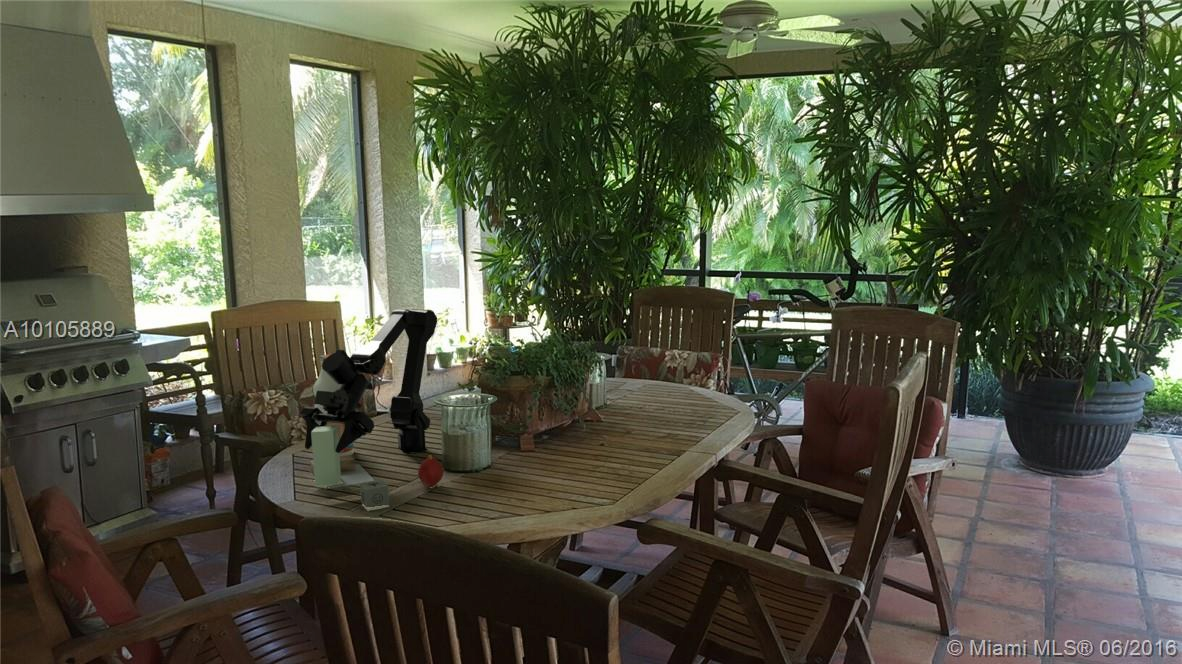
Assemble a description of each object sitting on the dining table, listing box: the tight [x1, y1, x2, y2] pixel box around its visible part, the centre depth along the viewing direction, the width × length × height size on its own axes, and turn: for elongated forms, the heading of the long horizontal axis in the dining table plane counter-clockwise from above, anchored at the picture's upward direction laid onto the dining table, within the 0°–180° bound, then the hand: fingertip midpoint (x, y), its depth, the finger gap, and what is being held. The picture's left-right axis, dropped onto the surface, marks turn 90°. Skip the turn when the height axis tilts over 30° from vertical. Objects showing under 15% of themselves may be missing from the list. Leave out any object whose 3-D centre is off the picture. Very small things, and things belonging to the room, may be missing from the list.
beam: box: [309, 454, 356, 476], centre depth 206 cm, size 10×4×3 cm, turn 119°
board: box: [314, 463, 376, 490], centre depth 202 cm, size 14×16×1 cm
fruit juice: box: [312, 353, 355, 457], centre depth 220 cm, size 9×9×28 cm
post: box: [311, 426, 341, 485], centre depth 197 cm, size 5×5×13 cm
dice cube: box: [359, 479, 390, 507], centre depth 184 cm, size 5×5×5 cm
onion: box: [417, 454, 444, 488], centre depth 196 cm, size 6×6×8 cm
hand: (321, 450), depth 196 cm, fingers open, 9 cm apart
